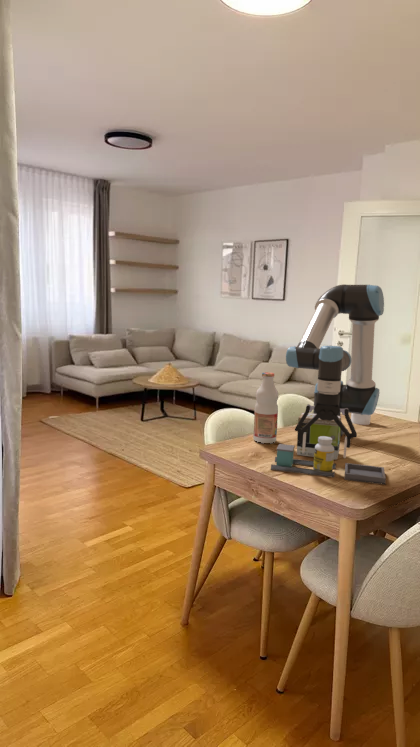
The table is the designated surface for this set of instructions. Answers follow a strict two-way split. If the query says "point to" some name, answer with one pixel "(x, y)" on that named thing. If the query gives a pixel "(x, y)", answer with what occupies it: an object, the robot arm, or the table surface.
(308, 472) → the guide rail
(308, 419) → the tea box
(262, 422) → the fruit juice
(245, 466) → the table surface
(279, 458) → the teal and grey cube
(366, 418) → the white cylinder
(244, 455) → the table surface
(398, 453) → the table surface
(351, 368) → the robot arm
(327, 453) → the pill bottle
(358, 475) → the tray
